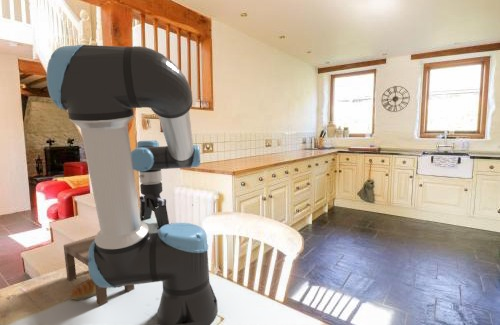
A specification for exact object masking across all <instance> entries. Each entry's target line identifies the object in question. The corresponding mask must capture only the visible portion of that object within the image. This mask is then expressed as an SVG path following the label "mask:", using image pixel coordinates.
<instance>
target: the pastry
mask: <svg viewBox="0 0 500 325" xmlns="http://www.w3.org/2000/svg"><path fill="white" fill-rule="evenodd" d="M106 290H108V288H106ZM93 296H94V297H96V288H95V283H94V282H93V280H92V278H90V279H87V280H86V281H85V282H83V283H82V284H80V285H78V286H77V287H76V288H74V289H73V290H72V291H71V293H70V299H72V300H75V301H77V300H78V301H80V300H83V299H89V298H91V297H93Z"/></svg>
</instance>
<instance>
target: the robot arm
mask: <svg viewBox="0 0 500 325" xmlns="http://www.w3.org/2000/svg"><path fill="white" fill-rule="evenodd" d="M46 86H47V90H48V94H49V97H50V99H51V100H52V103H53V104H54V105H55V106H56V107H57V108H59V109H61V110H63V111H67V114H68V119H69V121H70V122H71V123H73V124H75V125H76V126H77V127H78V128H79V129H80V133H81V138H82V143H83V148H84V153H85V157H86V163H87V167H88V168H87V169H88V173H89V179H90V183H91V188H92V193H93V199H94V204H95V208H96V214H97V219H98V225H99V229H100V230H99V231H98V232H97V233H96V234H95V235H96V236H95V235H94V236H95V240H94V241H93V242H92V244H91V245H90V248H89V252H88V259H89V262H88V266H87V268H88V273H89V276H90V279H92V280H93V282H94V283H95V284H96V285H98V286H99V287H103V288H107V289H109V288H121V287H124V286H126V285H134V286H135V285H141V284H149V283H160V282H162V293H161V298H160V302H159V306H158V308H157V313H156V314H157V324H158V325H211V323H213V322H214V320H215V319H216V317H217V315H218V311H219V310H218V309H219V308H218V299H217V297H216V294H215V293H214V289H213V287H212V285H211V283H210V270H209V256H208V255H209V254H208V250H209V244H208V239H207V238H208V237H207V232H206V230H205V229H204V228H202V226H200V225H196V224H193V223H189V222H174V223H173V222H172V223H170V221H169V215H168V210H167V209H168V208H167V199H166V198H165V199H162V198H161V193H162V192H163V182H162V179H163V176H162V170H167V169H170V170H171V169H173V170H174V169H191V168H198V167H200V166H201V151H200V149H201V148H200V146H199V145H198V144H197V145H196V144H194V140H193V133H192V132H193V130H192V123H191V116H190V115H191V114H190V111H191V109H192V106H193V93H192V92H193V91H192V89H191V85H190V83H189V82H188V80H187V78H186V76H185V75H184V73H183V72H182V71H181V69H180V68H179V67H178V66H177V65H176V64H175V63H174V62H173V61H172V60H171V59H169V58H168V57H167V56H165V55H164V54H162V53H161V52H159V51H157V50H155V49H152V48H149V47H145V46H139V45H138V46H137V45H135V46H117V45H115V46H114V45H95V44H94V45H92V44H91V45H89V44H78V45H64V46H59V47H58V48H56V50H54V51H53V52H52V53H51V55H50V59H49V60H48V62H47V67H46ZM142 108H149V109H151V111H152V112H153V113H154V114H155V115H157V116H158V121H159V123H160V125H161V126H160V128H161V129H162V133H163V135H164V139H165V142H166V145H164V146H160V143H159V141H158V140H156V139H155V140H139V141H137V142H136V145H137V146H136V148H134V149H133V150H132V149H131V148H132V147H131V141H130V136H129V135H130V134H129V128H128V126H129V125H128V124H129V122H131V120H132V119H133V118H134V109H142ZM135 171H137V172H139V176H138V177H139V182H140V187H139V188H140V193H141V195H140V196H139V197H138V192H137V184H136V179H135V178H136V177H135V176H136V175H135ZM138 198H139V199H138ZM139 202H140V203H139ZM139 204H140V207H139ZM152 213H154V217H156V220H157V223H158V226H159V228H157V230H158V233H149V228H148V225H147V224H146V223H144V222H142V221H143V220H146V219H150V218H152V215H153V214H152Z"/></svg>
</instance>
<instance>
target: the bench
mask: <svg viewBox="0 0 500 325" xmlns="http://www.w3.org/2000/svg"><path fill="white" fill-rule="evenodd" d="M96 235H97V234H95V235H92V236H89V237H85V238H82V239H79V240H76V241H71V242H69V243H65V244H63V252H64V261H65V271H66V277H67V278H66V279H67V281H68V282H72V281H74V280H77V271H76V270H77V269H76V263H75V262H76V260H78V261H79V262H81V263H82V264H84V265H85V266H87V267H88V262H89V259H88V252H89V248H90V245H91V244H92V242H93V241H94V240H95V236H96ZM123 287H124V291H126V292H128V293H129V292H131V291H133V290H135V285H126V286H123ZM95 288H96V295H95V297H96V304H97V305H98V306H100V307H101V306H103V305H105V304H106V303H107V304H108V293H107V292H108V291H107V290H108V289H107V290H106V288H103V287H99V286H98V285H96V284H95Z"/></svg>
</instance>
